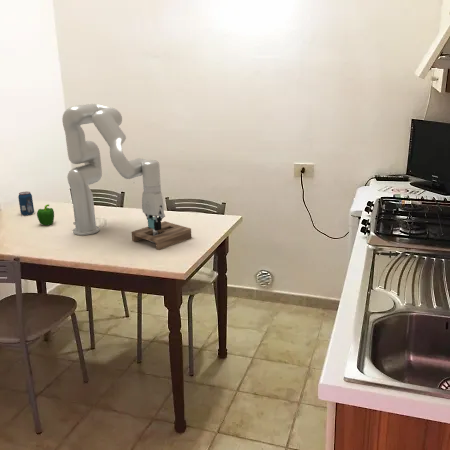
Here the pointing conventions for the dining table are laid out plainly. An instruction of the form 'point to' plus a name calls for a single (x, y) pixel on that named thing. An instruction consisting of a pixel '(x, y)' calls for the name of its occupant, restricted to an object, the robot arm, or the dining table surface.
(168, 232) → the keyhole plate
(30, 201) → the soda can
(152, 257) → the dining table surface
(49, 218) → the bell pepper
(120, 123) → the robot arm
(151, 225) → the headed peg
